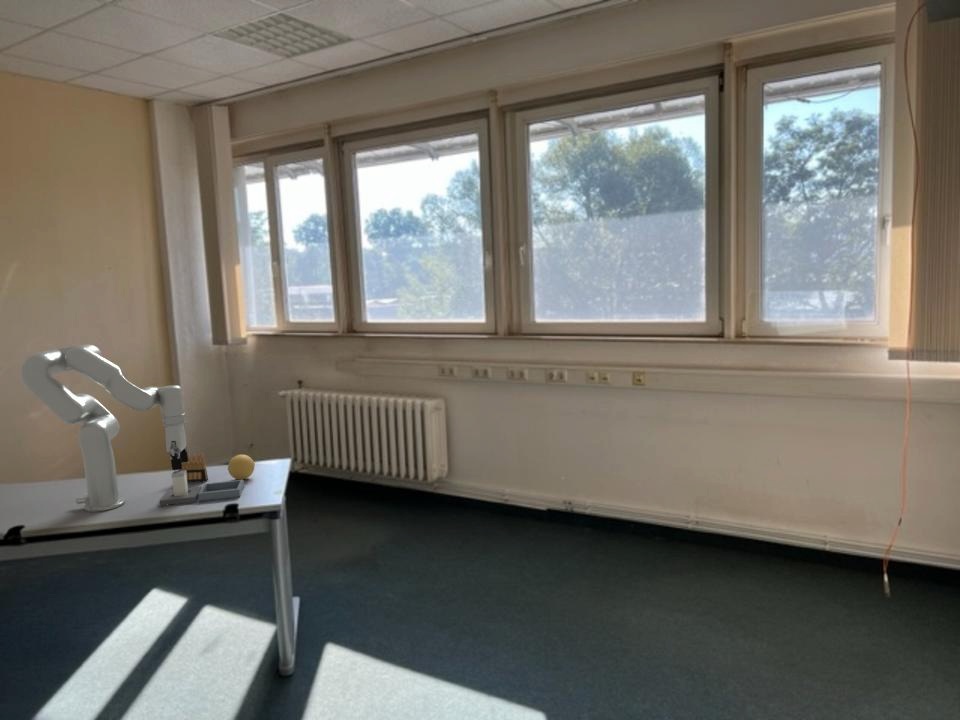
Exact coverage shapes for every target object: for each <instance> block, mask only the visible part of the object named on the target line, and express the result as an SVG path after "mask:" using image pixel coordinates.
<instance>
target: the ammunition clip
mask: <svg viewBox="0 0 960 720" xmlns="http://www.w3.org/2000/svg"><path fill="white" fill-rule="evenodd" d="M191 454H192V455H191ZM191 454H190V452H188V451H187V456H188V462H183V463H182V469H180V470H178V471H182V470H186V472H187V473H186V474H187V484H188V483H204V482H203V481H206V482H208V481H209V476H208V471H207V466H206V460H205V455H204V452H203V451H201V453H200V454H199V452H198V451H197V452H196V455H195V453H194V452H192V453H191ZM207 480H208V481H207Z"/></svg>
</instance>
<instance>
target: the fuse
mask: <svg viewBox="0 0 960 720" xmlns="http://www.w3.org/2000/svg"><path fill="white" fill-rule="evenodd" d="M186 473H187V472H186V470H182V471H179V470H173V472H172V474H171V478H172V480H171V481H172V488H173V489H172V490H173V491H174V496H182V495H188V494H189V493H188V488H189V487H188V483H187V474H186Z"/></svg>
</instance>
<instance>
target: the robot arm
mask: <svg viewBox="0 0 960 720" xmlns="http://www.w3.org/2000/svg"><path fill="white" fill-rule="evenodd" d="M67 371H68V372H69V371H75V372H77V373H79V374H80V375H82V376H84V377H85V378H86V379H87V378H88V379H90V380H91V381H93V382H94V383H96V384H98V385H100V386H101V387H102V388H103V389H104V390H106V392H108V393H109V394H110V396H112V397H113V398H114V399H115V400H116V401H118V402H119V403H121V404H123V405H125V406H126V407H128V408H130V409H132V410H134V411H136V412H142V413H144V412H148V411H150V410H152V409H153V408H155V407H157V406H159V407H160V413H161V421H162V426H163V427H164V433H165V435H164V436H165V444H166V446H165V447H166V452H167V454H169V455H170V461H171V470H172V471H179V470H180V469H182V463H183V462H187V463H188V451H187V435H186V431H185V430H186V429H185V423H187V419H186V413H185V405H184V398H183V390H182V387H181V386H180V385H177V384H176V385H174V384H171V385H166V386H165V385H164V386H152V385H150V386H146V387H143V388H140V387H139V386H136V385H135V384H133V383H131V381H128V380H127V379H126V378H125V377H124V375H123V373H122V369H121V368H120V366H119V365H117V364H115V363H113V362H111V361H110V360H108V359H107V358H105V357H103V353H102V351H101V350H100V349H99V347H97V346H95V345H93V344H89V343H87V344H86V343H84V344H81V345H74V346H68V347H59V348H52V349H47V350H42V351H38V352H35V353H32V354H31V355H29V356H28V357H27V358H26V359H25V360H24V361H23V363H22V365H21V370H20V376H21V380H22V382H23V384H24V386H25V388H27V390H28V391H30V392H31V393H32V395H34V396H35V397H36V398H37V399H39V400H40V401H41V402H42V403H43V404H44V405H45V406H46V408H48V409H49V410H50V411H51V412H53V414H55V415H56V416H57V417H58V419H60V421H62V422H63V423H65V424H68V425H75V424H79V423H81V424H82V425H81V426H80V427H79V430H78V433H77V440H78V443H79V447H80V450H81V455H82V462H83V468H84V475H85V476H84V477H85V482H86V483H85V484H86V490H87V491H86V492H87V495H85V496H78V497H75V503H76V504H77V505H81V504H82V505H83V504H84V505H83V509H84V511H85V512H90V513H96V512H103V511H109V510H113V509H116V508H118V507H121V506H123V505H124V504H125V498H123V497H121V496H119V485H118V478H117V470H116V462H115V461H116V460H115V453H114V450H113V446H112V443H111V441H112V440H113V439H114V438H115V437H116V436H118V434H119V432H120V428H121V426H120V423H119V421H118V419H117V418H116V416H114V415H113V414H112V413H111V411H109V410H108V409H107V408H106V407H105V406H104V405H103V404H102V403H101V402H100V401H99V400H97V399H96V398H95V397H94V396H92V395H90V394H87V393H84V392H83V393H81V392H79V393H77V394H74V393H73V392H72V391H71V390H70V389H68V388H67V386H66V385H65V384H63V383H62V382H61V381H59V380H58V379H56V378H55V377H53V375H54V374H58V373H62V372H67Z"/></svg>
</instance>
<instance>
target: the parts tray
mask: <svg viewBox="0 0 960 720" xmlns="http://www.w3.org/2000/svg"><path fill="white" fill-rule="evenodd" d="M201 487H202V488H201V490H200V492H199V493H198V502H199V503H200V501H202V502H208V500H211V501H217V500H219V499H220V500H226V499H228V498H229V499H235V498H236V497H238V498H241V496H242V494H243V492H242V491H244V489H245V480H239V479H236V480H235V479H234V480H227V481H218V482H205V483H204V484H203V485H202V486H201ZM241 493H242V494H241ZM220 500H219V501H220Z"/></svg>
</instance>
